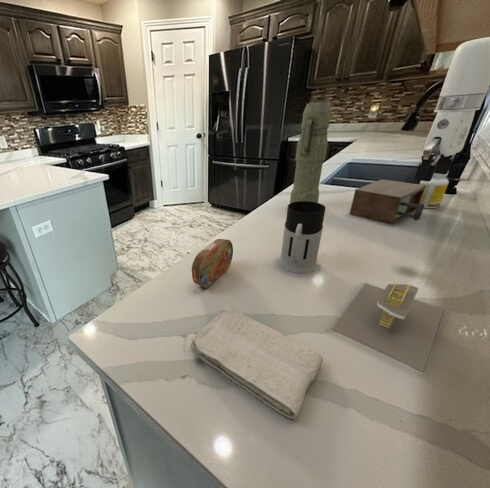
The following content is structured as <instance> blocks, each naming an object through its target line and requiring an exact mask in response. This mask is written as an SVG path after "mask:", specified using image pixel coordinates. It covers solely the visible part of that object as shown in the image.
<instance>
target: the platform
mask: <svg viewBox="0 0 490 488" xmlns="http://www.w3.org/2000/svg"><path fill="white" fill-rule="evenodd" d="M418 291H419V288H418V287H416V286H415V285H411V284H410V283H408V284H405V283H399V281H398V280H397V281H396V282H395V283H388V284H387V285H386V287H385V288H381V287H378V286H376V285H372V284H369V283H363V285H362V287H361V288H360V290H359V291H358V292H357V294H356V296H354V298H353V300H352V301H351V302H350V303H349V305H348V307H346V309H345V310H344V312H343V313H342V315H341V316H340V317H339V319H338V320H337V322H336V323H335V324H334V326H333V327H332V330H333V331H335V332H337V333H339V334H341V335H344V336H346V337H347V338H350V339H352V340H354V341H356V342H359V343H361V344H363V345H365V346H367V347H369V348H370V349H373V350H376V351H378V352H380V353H382V354H383V355H386V356H388V357H390V358H393V359H394V360H397V361H399V362H401V363H403V364H405V365H408V366H409V367H412V368H414V369H416V370H418V371H420V372H423V373H424V372H425V370H426V365H427V363H428V359H429V356H430V353H431V350H432V347H433V343H434V341H435V338H436V335H437V331H438V328H439V325H440V321H441V318H442V316H443V312H444V308H442V307H439V306H436V305H433V304H429V303H427V302H425V301H420V300H417V299H415V298H416V295H417V293H418Z"/></svg>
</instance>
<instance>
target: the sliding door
mask: <svg viewBox="0 0 490 488" xmlns="http://www.w3.org/2000/svg"><path fill="white" fill-rule="evenodd" d="M410 197H411V195H410V196H408V197H406V198H404V199H402V200H401V202H400V205H399V209H398V212H397V215H396V218H398V217H400V216H406V217H405V218H411V219H413V220H414V221H420V219H421V216H422V214H423V211H424V209H425V208H424V206H425V205H424V204H419V205H416V204H411V203H409V200H410ZM407 206H408V207H413V208H417V209H416V212H414V213H413V214H409V213H405V211H406V209H407ZM396 218H395V219H396Z"/></svg>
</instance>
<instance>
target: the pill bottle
mask: <svg viewBox="0 0 490 488" xmlns="http://www.w3.org/2000/svg"><path fill="white" fill-rule="evenodd" d="M449 172H450V171H448V173H447V174H437V173H434V174H433V177H432V179H431V181H429V182H427V181H420V182H419V184H420V185H426V188H425V191H424V193H423V196H422V199H421V201H420V204H424V205H425V206H424V209H437V208H440V205H441V203H442V202H443V198H444V196H445V194H446V191H447V189H448V186H449V183H450V182H449V179H448V178H447V177H448V175H449Z"/></svg>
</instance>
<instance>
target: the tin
mask: <svg viewBox="0 0 490 488" xmlns="http://www.w3.org/2000/svg"><path fill="white" fill-rule="evenodd" d="M233 256H234V247H233V243H232V241H231V240H230V239H224V238H216V239H215V240H213V241H212V242H210V243H209V244H208V245H207V246H206V247H204V248H203V249H202V250H201V251H199V252H198V253H197V254H196V256H195V257H194V259H193V262H192V264H191V278H192V281H193V283H194V284H195V285H198V286H200V287H203V288H205V289H207V288H210V287H211V286H212V285H214V283H215V282H216V281H217V280H219V279H220V278H221V276H223V274H225V273H226V272H227V271H228V269H229V268H230V266H231V263H232V261H233Z"/></svg>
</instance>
